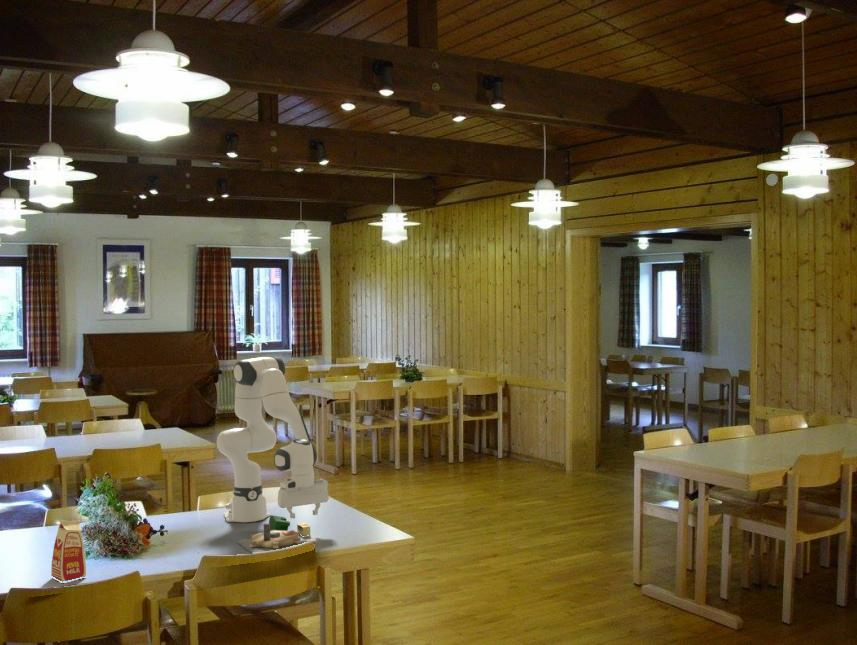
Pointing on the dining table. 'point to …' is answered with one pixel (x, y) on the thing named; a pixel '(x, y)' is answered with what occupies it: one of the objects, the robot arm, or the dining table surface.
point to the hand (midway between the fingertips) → (304, 516)
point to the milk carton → (68, 552)
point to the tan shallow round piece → (274, 538)
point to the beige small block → (303, 529)
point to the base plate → (246, 544)
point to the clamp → (278, 523)
